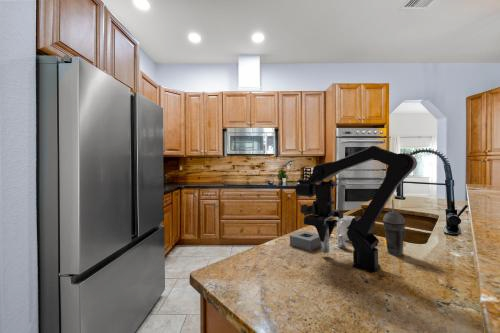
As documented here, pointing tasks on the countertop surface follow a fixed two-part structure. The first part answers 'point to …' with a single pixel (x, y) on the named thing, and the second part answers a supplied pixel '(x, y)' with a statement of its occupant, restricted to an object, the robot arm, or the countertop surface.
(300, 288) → the countertop surface
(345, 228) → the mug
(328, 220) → the robot arm
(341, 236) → the short pin
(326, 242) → the long pin
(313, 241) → the hole block
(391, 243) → the beverage cup
